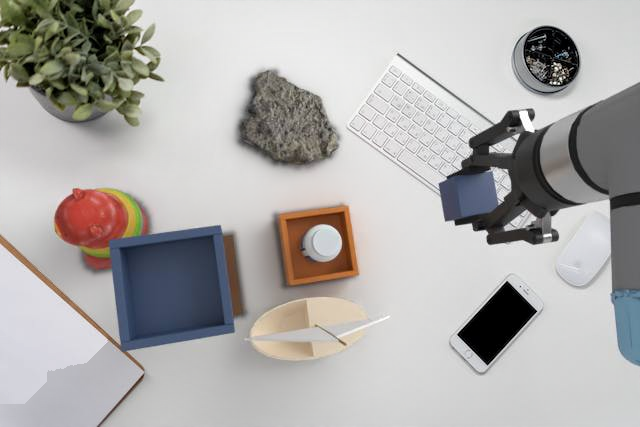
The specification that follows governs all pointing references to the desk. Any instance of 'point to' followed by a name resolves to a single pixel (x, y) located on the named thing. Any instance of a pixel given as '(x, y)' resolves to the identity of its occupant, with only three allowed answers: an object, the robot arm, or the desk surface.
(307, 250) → the pill bottle
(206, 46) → the desk surface
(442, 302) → the desk surface
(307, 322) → the toy sailboat
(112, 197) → the stacking bear
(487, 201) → the slate block
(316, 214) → the amber bin
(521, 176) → the robot arm
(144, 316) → the slate bin
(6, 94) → the desk surface
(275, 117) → the stone slab
